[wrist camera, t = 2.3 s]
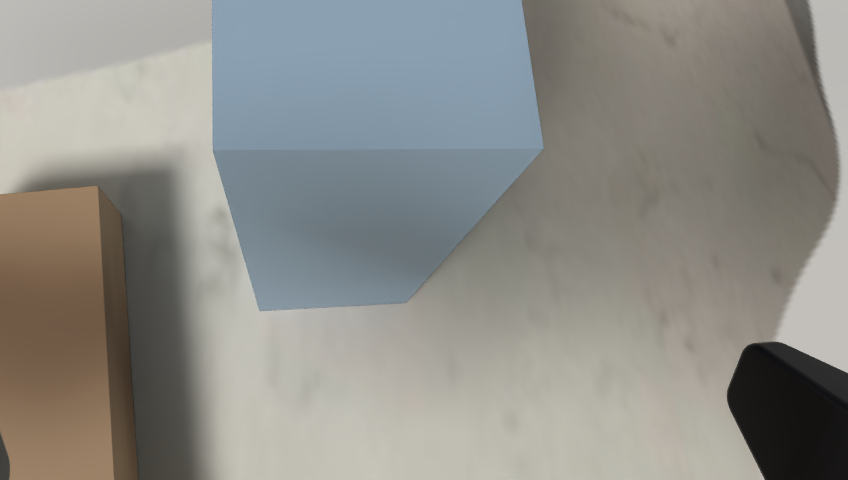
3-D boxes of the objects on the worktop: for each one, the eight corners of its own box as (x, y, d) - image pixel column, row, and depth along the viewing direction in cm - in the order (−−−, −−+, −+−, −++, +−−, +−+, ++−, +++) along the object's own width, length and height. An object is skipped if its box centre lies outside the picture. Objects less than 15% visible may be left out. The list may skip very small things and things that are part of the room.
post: (405, 302, 20) (544, 148, 9) (259, 310, 20) (212, 149, 8) (394, 170, 22) (505, -111, 10) (256, 172, 21) (211, -135, 9)
